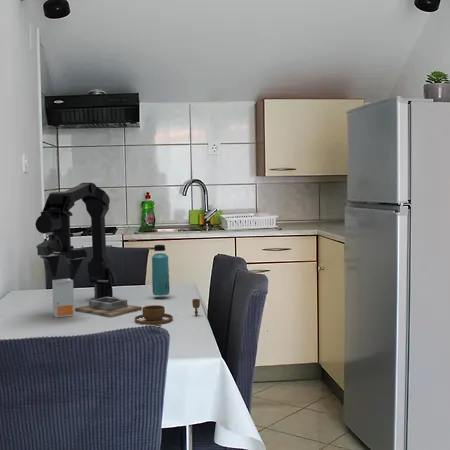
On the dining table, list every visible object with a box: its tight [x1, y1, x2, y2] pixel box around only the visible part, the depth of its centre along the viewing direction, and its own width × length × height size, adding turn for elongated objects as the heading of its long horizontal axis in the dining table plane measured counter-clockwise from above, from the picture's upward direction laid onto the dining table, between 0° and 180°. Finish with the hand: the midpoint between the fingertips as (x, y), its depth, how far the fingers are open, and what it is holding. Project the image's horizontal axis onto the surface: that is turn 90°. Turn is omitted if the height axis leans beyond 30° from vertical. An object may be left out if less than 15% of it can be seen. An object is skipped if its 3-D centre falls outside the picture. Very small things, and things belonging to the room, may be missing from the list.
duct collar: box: [74, 296, 143, 318], centre depth 208 cm, size 18×14×4 cm
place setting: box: [134, 298, 201, 327], centre depth 192 cm, size 18×20×6 cm
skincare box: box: [52, 278, 75, 319], centre depth 200 cm, size 6×4×12 cm
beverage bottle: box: [151, 244, 170, 296], centre depth 228 cm, size 6×7×20 cm
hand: (62, 278), depth 200 cm, fingers open, 9 cm apart
